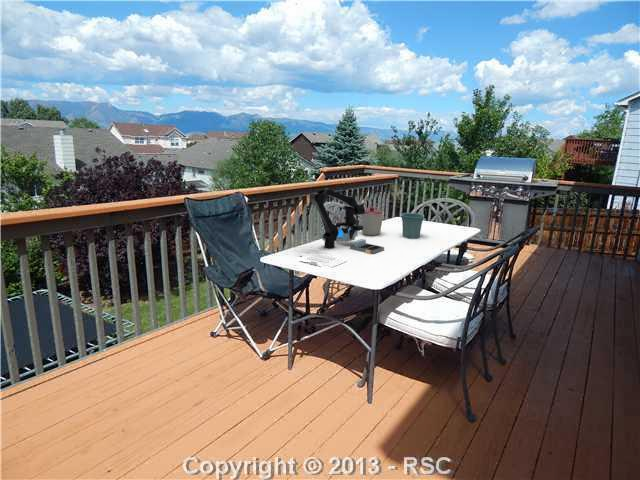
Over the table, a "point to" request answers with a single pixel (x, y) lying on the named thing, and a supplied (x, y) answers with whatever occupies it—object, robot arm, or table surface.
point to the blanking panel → (348, 237)
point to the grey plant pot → (371, 221)
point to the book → (341, 235)
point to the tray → (323, 260)
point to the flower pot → (412, 224)
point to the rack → (368, 248)
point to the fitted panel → (360, 242)
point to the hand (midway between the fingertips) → (348, 238)
